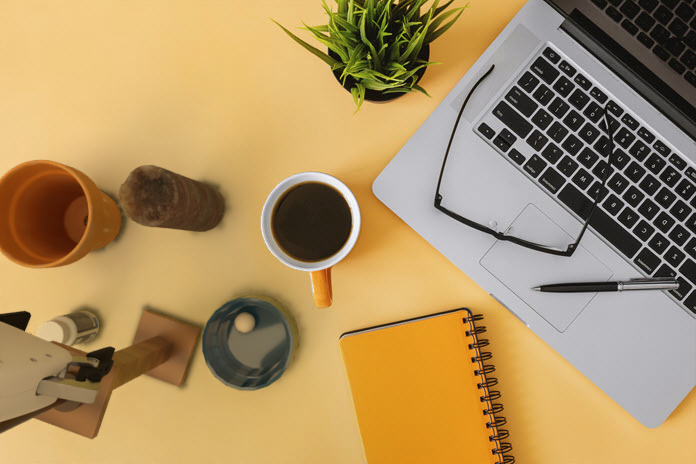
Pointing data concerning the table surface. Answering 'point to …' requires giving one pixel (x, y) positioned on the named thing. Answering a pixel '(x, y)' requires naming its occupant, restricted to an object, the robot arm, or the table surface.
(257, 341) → the bowl
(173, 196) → the brown textured cylinder
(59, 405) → the stick
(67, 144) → the table surface
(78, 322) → the pill bottle
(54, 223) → the flower pot
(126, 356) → the stand
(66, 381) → the robot arm
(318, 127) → the table surface
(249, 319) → the ball
